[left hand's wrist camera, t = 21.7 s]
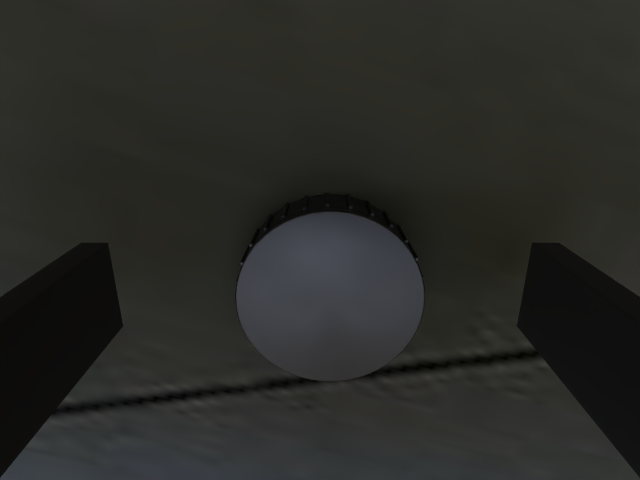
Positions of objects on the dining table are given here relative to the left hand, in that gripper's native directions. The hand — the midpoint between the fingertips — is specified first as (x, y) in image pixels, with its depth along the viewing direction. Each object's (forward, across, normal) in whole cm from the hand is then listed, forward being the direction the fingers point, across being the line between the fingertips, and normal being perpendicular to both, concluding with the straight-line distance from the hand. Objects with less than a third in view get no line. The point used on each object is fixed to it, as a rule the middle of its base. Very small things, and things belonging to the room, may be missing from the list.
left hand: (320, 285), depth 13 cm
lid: (+1, 0, -1) cm, 1 cm away
